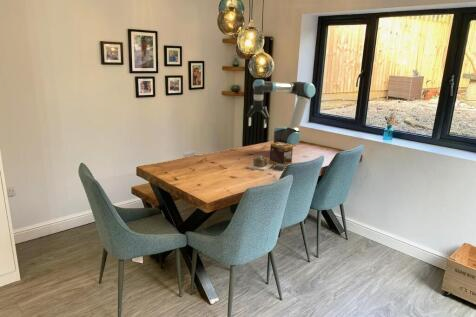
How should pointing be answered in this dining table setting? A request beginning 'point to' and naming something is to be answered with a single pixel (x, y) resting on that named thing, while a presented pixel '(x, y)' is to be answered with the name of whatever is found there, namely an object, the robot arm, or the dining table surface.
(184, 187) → the dining table surface
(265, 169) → the white post holder
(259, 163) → the brown block
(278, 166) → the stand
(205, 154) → the dining table surface
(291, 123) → the robot arm
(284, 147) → the supplement box
